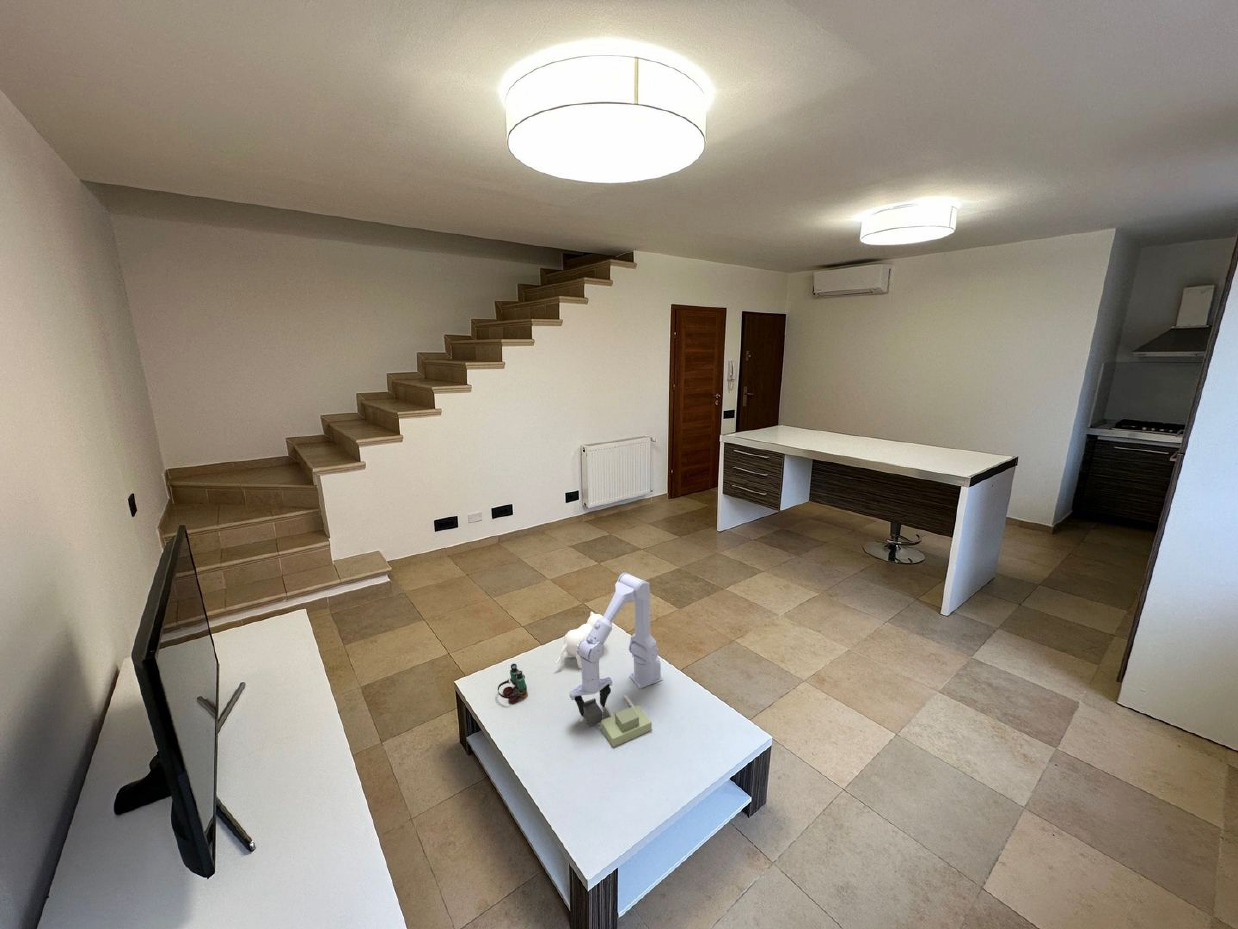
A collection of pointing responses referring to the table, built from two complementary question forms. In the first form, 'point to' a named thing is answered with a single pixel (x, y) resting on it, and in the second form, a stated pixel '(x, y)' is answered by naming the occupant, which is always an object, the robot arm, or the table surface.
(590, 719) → the grey overhanging lid block
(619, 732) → the green post base
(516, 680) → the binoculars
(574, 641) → the cat figurine
